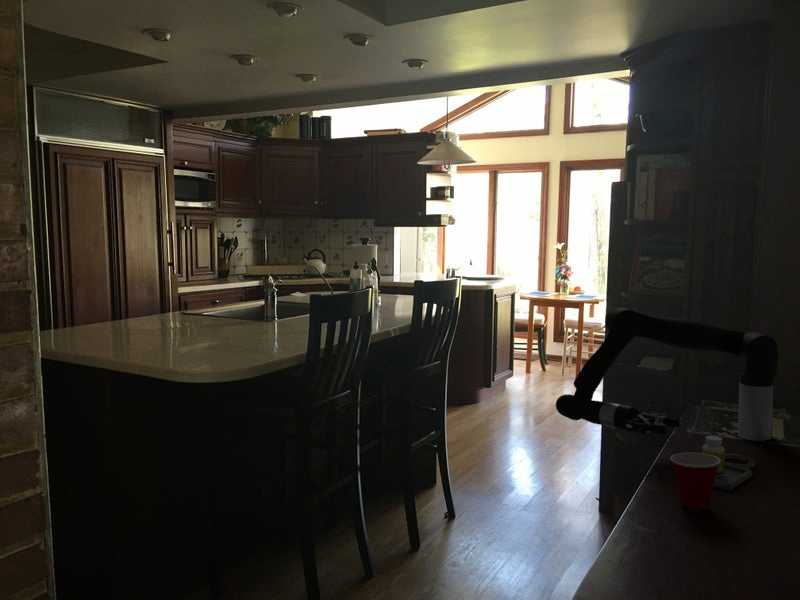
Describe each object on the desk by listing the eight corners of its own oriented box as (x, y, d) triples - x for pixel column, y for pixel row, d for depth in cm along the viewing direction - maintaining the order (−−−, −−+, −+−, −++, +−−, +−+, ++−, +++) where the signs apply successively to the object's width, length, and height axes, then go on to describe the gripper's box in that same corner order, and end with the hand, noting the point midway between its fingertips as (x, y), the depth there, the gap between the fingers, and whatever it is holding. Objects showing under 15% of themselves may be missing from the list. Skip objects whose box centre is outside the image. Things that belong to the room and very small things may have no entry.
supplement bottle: (727, 477, 166) (729, 441, 165) (707, 477, 166) (708, 441, 165) (718, 470, 171) (719, 434, 170) (697, 470, 171) (698, 434, 171)
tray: (698, 462, 179) (698, 457, 179) (752, 475, 168) (752, 470, 168) (674, 476, 169) (674, 470, 169) (729, 491, 158) (729, 485, 158)
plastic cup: (679, 493, 157) (681, 446, 156) (726, 506, 150) (728, 456, 149) (661, 506, 150) (662, 457, 149) (709, 520, 142) (710, 468, 141)
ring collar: (723, 455, 185) (723, 451, 184) (759, 463, 177) (759, 459, 177) (709, 463, 178) (709, 459, 178) (745, 472, 171) (745, 467, 171)
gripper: (606, 409, 184) (660, 419, 172) (630, 399, 194) (683, 408, 182) (606, 434, 185) (660, 446, 173) (631, 423, 194) (683, 434, 182)
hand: (672, 426), depth 177 cm, fingers open, 8 cm apart
